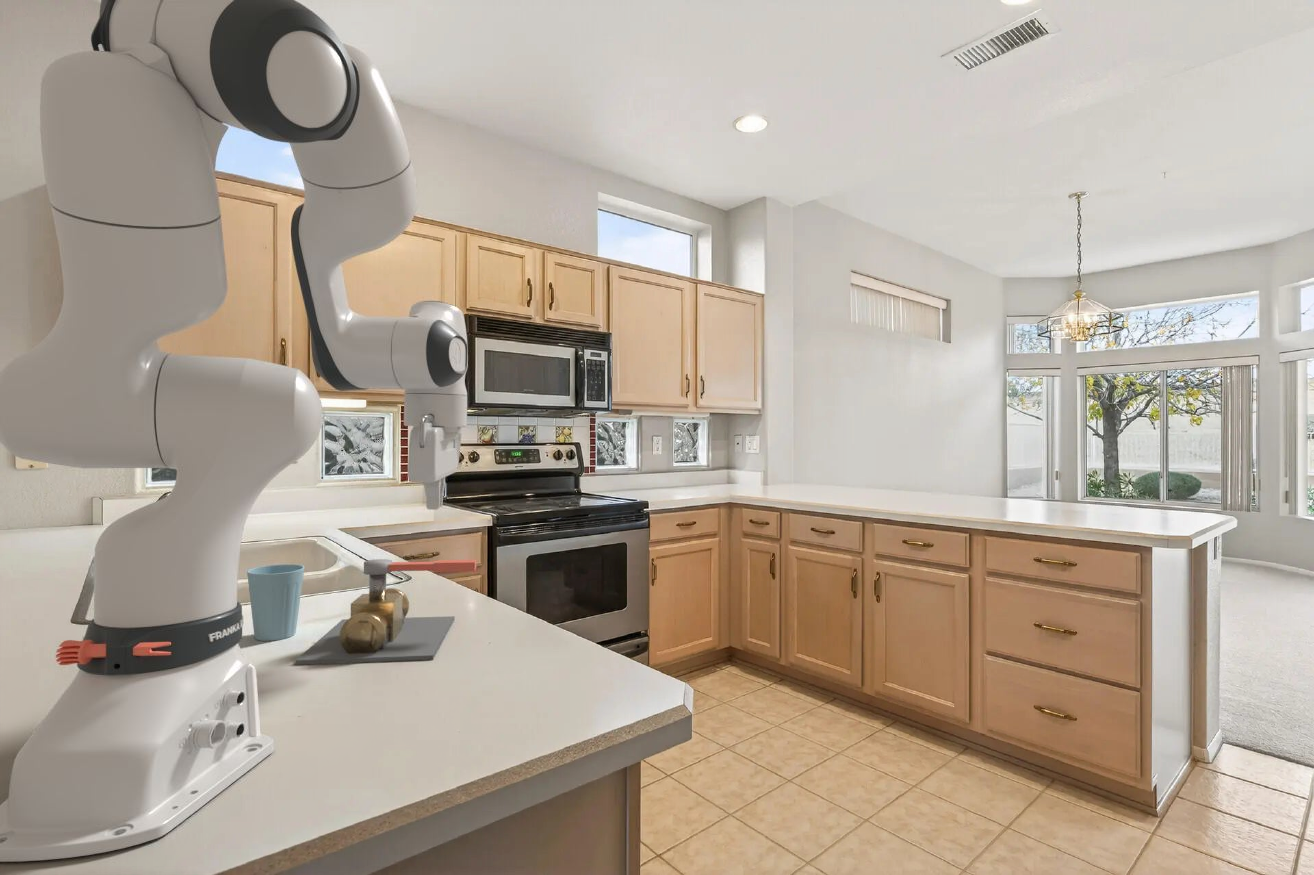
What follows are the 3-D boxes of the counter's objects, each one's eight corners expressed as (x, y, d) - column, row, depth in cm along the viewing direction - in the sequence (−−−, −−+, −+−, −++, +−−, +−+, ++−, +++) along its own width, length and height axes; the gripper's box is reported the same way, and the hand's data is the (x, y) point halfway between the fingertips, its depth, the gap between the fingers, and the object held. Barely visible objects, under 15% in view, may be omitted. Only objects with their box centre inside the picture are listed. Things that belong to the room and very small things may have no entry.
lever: (360, 575, 98) (360, 564, 98) (367, 569, 102) (367, 559, 102) (473, 573, 100) (474, 562, 100) (477, 567, 104) (477, 557, 104)
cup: (306, 638, 100) (307, 570, 100) (247, 646, 96) (248, 576, 96) (300, 626, 107) (301, 562, 107) (245, 633, 102) (246, 567, 102)
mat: (432, 659, 92) (433, 655, 92) (295, 664, 89) (295, 660, 89) (454, 619, 111) (454, 616, 111) (342, 623, 109) (342, 619, 109)
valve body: (384, 656, 93) (385, 585, 93) (339, 658, 92) (340, 586, 92) (409, 624, 108) (409, 563, 108) (370, 625, 107) (371, 564, 107)
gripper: (446, 414, 87) (444, 518, 87) (467, 416, 107) (466, 500, 107) (396, 413, 86) (394, 518, 86) (427, 415, 106) (425, 500, 106)
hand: (434, 508), depth 97 cm, fingers closed
